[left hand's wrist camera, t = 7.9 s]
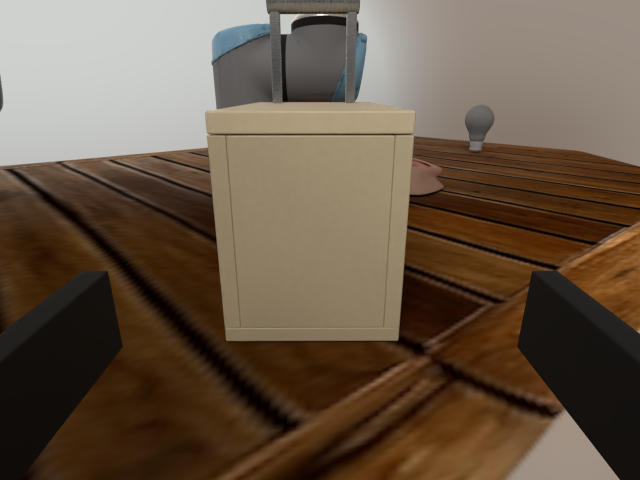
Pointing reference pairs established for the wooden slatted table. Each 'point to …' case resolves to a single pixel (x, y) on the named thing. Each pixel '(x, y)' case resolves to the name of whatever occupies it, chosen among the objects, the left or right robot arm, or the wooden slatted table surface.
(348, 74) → the lid
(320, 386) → the wooden slatted table surface
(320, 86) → the right robot arm
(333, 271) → the chest
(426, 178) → the anatomical model
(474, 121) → the light bulb
